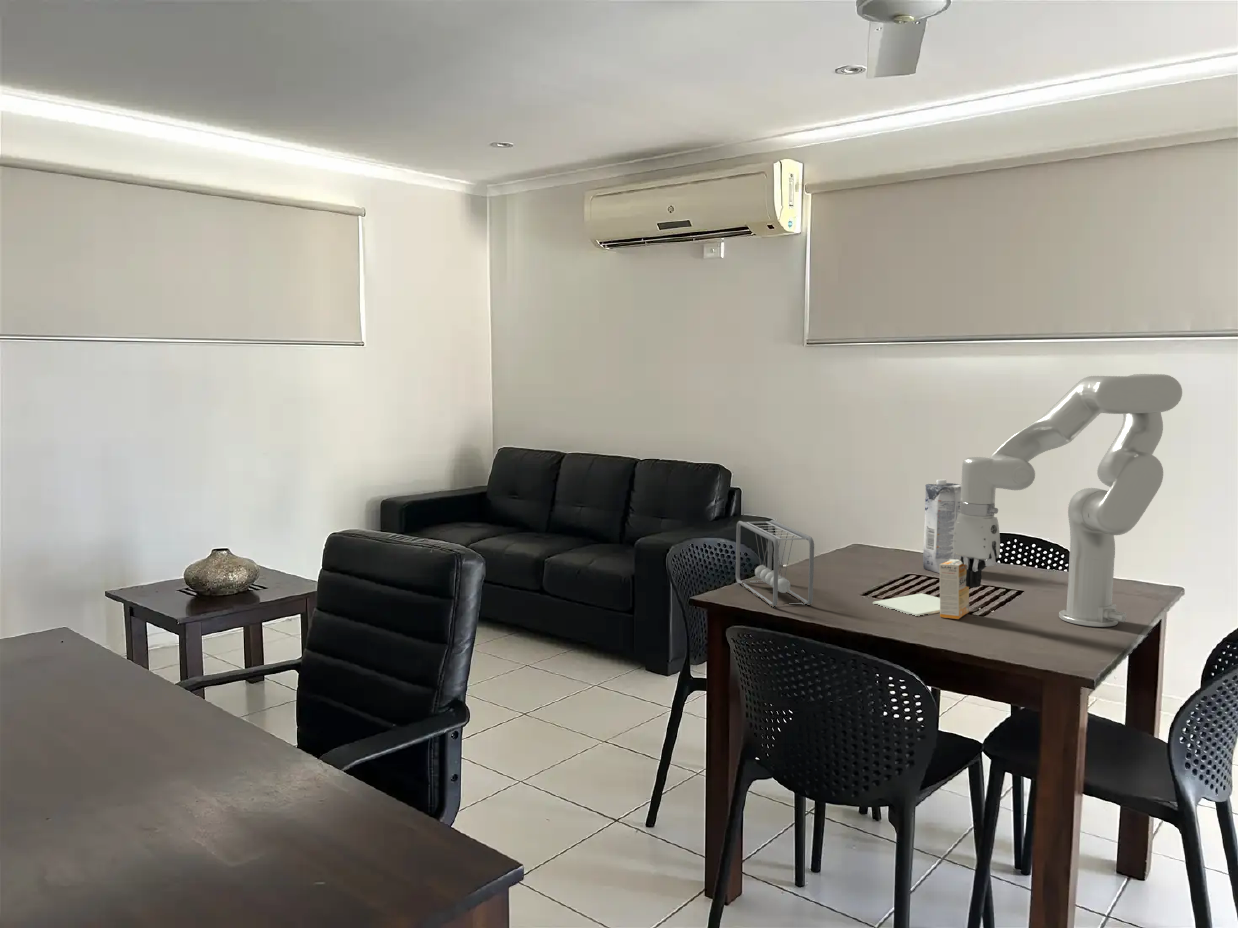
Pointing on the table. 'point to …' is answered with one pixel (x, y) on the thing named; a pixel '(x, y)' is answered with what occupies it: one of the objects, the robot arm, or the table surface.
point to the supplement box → (953, 590)
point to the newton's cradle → (775, 560)
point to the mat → (913, 604)
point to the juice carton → (940, 523)
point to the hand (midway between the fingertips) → (973, 586)
